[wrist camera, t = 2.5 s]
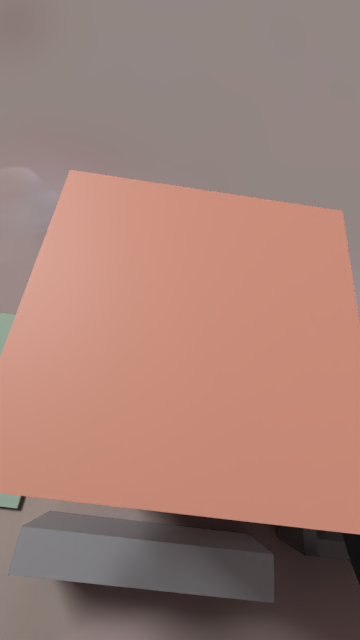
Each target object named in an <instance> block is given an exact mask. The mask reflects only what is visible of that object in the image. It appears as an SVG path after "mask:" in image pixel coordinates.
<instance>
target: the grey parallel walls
mask: <svg viewBox="0 0 360 640" xmlns="http://www.w3.org/2000/svg"><path fill="white" fill-rule="evenodd" d="M8 575H15V576H24V577H33V578H43V579H52V580H62V581H71V582H80V583H90V584H99V585H109V586H118V587H127V588H137V589H146V590H156V591H165V592H174V593H184V594H193V595H203V596H212V597H221V598H231V599H240V600H250V601H259V602H268V603H275V598H274V554H272V553H271V552H270V551H269V550H268V549H266V548H265V547H264V546H263V545H261V544H260V543H259V542H258V541H257V540H255V539H254V538H253V537H252V536H250V535H249V534H246V533H237V532H228V531H220V530H211V529H202V528H193V527H184V526H176V525H167V524H158V523H149V522H140V521H132V520H123V519H114V518H105V517H96V516H88V515H79V514H70V513H61V512H52V511H49V512H47V513H45V514H43V515H41V516H40V517H38V518H36V519H34V520H32V521H30V522H29V523H27V524H25V525H23V526H22V527H21V530H20V534H19V537H18V541H17V545H16V548H15V552H14V556H13V559H12V563H11V566H10V570H9V574H8Z"/></svg>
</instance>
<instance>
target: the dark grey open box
mask: <svg viewBox="0 0 360 640" xmlns="http://www.w3.org/2000/svg"><path fill="white" fill-rule="evenodd" d="M277 537H278V538H279V539H281V540H283V541H284V542H286V543H287V544H289V545H290V546H292V547H293V548H295V549H296V550H298V551H299V552H301V553H302V554H304V555H310V556H319V557H328V558H337V559H345V560H350V558H349V555H348V552H347V549H346V546H345V543H344V540H343V536H342V533H341V532H333V531H324V530H316V529H307V528H298V527H289V526H281V525H277Z"/></svg>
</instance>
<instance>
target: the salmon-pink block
mask: <svg viewBox="0 0 360 640" xmlns="http://www.w3.org/2000/svg"><path fill="white" fill-rule="evenodd" d="M0 493H2V494H10V495H19V496H28V497H37V498H45V499H54V500H63V501H71V502H80V503H89V504H98V505H106V506H115V507H124V508H132V509H141V510H150V511H159V512H167V513H176V514H185V515H193V516H202V517H211V518H220V519H228V520H237V521H246V522H255V523H263V524H272V525H281V526H289V527H298V528H307V529H316V530H324V531H333V532H342V533H350V534H359V535H360V322H359V316H358V309H357V303H356V296H355V290H354V283H353V276H352V270H351V263H350V257H349V250H348V244H347V237H346V231H345V224H344V217H343V212H342V211H339V210H332V209H326V208H319V207H313V206H306V205H299V204H293V203H286V202H279V201H273V200H266V199H260V198H253V197H246V196H240V195H233V194H227V193H219V192H213V191H207V190H200V189H193V188H187V187H180V186H173V185H167V184H160V183H154V182H147V181H140V180H134V179H127V178H121V177H114V176H107V175H100V174H94V173H87V172H80V171H73V170H70V172H69V174H68V177H67V179H66V182H65V185H64V187H63V190H62V193H61V195H60V198H59V201H58V203H57V206H56V209H55V211H54V214H53V217H52V219H51V222H50V225H49V228H48V230H47V233H46V236H45V238H44V241H43V244H42V246H41V249H40V252H39V254H38V257H37V260H36V262H35V265H34V268H33V270H32V273H31V276H30V278H29V281H28V284H27V286H26V289H25V292H24V294H23V297H22V300H21V302H20V305H19V308H18V310H17V313H16V316H15V318H14V321H13V324H12V326H11V329H10V332H9V334H8V337H7V340H6V342H5V345H4V348H3V350H2V353H1V356H0Z"/></svg>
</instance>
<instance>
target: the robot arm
mask: <svg viewBox="0 0 360 640" xmlns="http://www.w3.org/2000/svg"><path fill="white" fill-rule="evenodd" d="M341 533H342V532H341ZM342 536H343V540H344V543H345V546H346V549H347V552H348V555H349V558H350V561H351V563H352V566H353V569H354V571H355V574H356V576H357V579H358V582H359V584H360V535H359V534H350V533H342Z"/></svg>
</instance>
